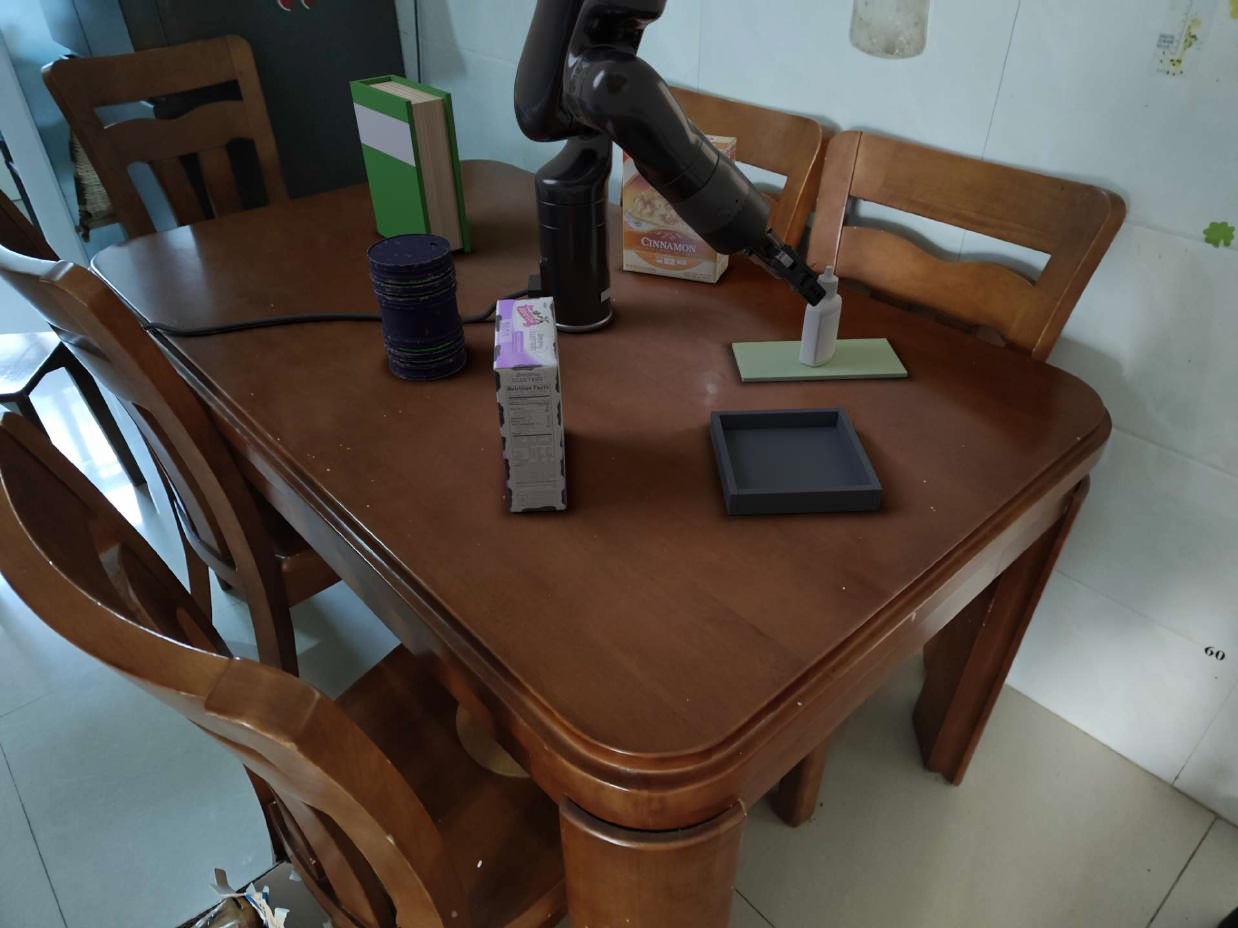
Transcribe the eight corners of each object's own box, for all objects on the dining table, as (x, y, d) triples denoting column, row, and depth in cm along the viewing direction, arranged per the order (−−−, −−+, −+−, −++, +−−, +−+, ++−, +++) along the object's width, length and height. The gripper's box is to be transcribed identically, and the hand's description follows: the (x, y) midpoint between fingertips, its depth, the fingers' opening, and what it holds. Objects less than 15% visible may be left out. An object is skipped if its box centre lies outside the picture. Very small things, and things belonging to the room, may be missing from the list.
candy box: (511, 434, 91) (495, 297, 81) (564, 431, 92) (555, 294, 82) (508, 514, 80) (490, 366, 70) (568, 510, 80) (559, 362, 71)
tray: (728, 515, 80) (730, 494, 78) (709, 430, 91) (710, 411, 90) (878, 510, 80) (883, 489, 78) (840, 426, 92) (843, 406, 90)
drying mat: (742, 382, 100) (743, 378, 99) (731, 346, 107) (732, 342, 107) (906, 377, 100) (907, 373, 100) (884, 342, 107) (885, 338, 107)
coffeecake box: (622, 270, 127) (620, 139, 115) (638, 254, 132) (638, 126, 121) (715, 285, 122) (723, 149, 111) (728, 266, 128) (737, 135, 116)
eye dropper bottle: (845, 361, 102) (861, 269, 95) (806, 370, 101) (819, 277, 93) (826, 345, 105) (839, 256, 98) (787, 354, 104) (798, 264, 97)
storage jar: (400, 388, 100) (377, 272, 91) (379, 354, 107) (356, 242, 98) (478, 368, 103) (463, 254, 94) (453, 336, 110) (437, 227, 101)
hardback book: (470, 251, 134) (450, 93, 120) (430, 263, 130) (405, 101, 116) (416, 222, 145) (392, 74, 131) (378, 233, 141) (349, 82, 127)
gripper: (777, 192, 80) (858, 283, 90) (709, 153, 90) (788, 238, 100) (725, 253, 81) (810, 336, 91) (664, 208, 92) (746, 287, 102)
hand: (798, 285), depth 96 cm, fingers open, 8 cm apart
